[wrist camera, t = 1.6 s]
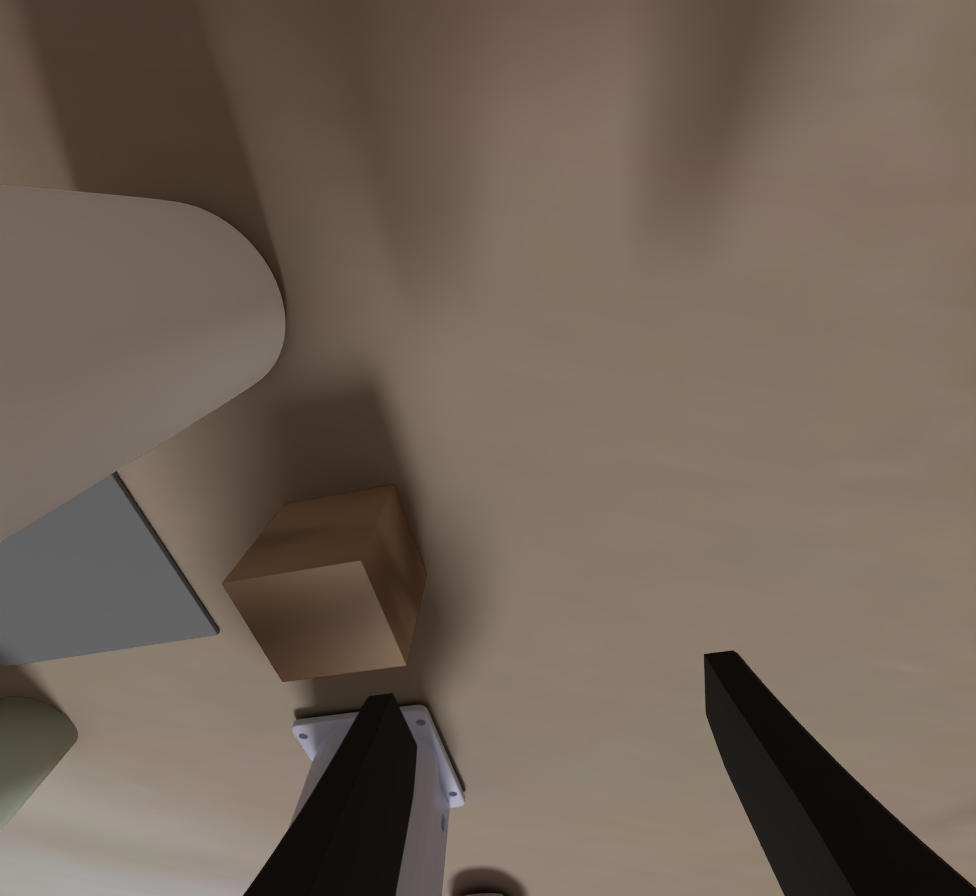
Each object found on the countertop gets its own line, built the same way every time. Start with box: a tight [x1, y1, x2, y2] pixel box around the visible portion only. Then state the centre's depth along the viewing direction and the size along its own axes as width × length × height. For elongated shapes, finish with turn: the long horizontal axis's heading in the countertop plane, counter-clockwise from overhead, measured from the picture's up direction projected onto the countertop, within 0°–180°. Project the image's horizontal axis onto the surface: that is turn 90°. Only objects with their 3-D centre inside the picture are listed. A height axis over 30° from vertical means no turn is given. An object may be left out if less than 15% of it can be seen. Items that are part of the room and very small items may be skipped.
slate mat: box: [0, 472, 220, 667], centre depth 21 cm, size 14×14×1 cm
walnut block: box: [222, 484, 427, 682], centre depth 18 cm, size 5×5×5 cm
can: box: [0, 184, 285, 542], centre depth 11 cm, size 6×6×12 cm
